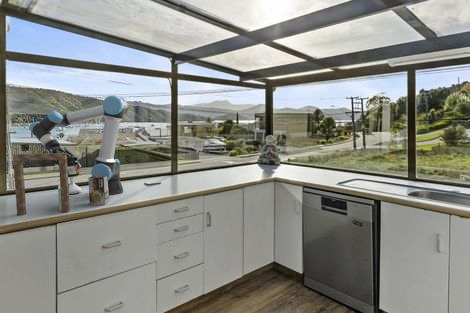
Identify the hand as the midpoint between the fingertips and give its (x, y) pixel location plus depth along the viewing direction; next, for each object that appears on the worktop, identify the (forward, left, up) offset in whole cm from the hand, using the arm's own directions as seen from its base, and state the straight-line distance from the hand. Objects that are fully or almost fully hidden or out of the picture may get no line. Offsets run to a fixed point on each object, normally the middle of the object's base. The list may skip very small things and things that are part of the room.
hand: (73, 169), depth 183 cm
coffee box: (-16, +12, -19) cm, 28 cm away
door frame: (+8, +26, -19) cm, 33 cm away
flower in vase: (+8, -22, -19) cm, 30 cm away
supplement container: (+3, -1, -5) cm, 5 cm away
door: (+2, +18, -19) cm, 26 cm away
